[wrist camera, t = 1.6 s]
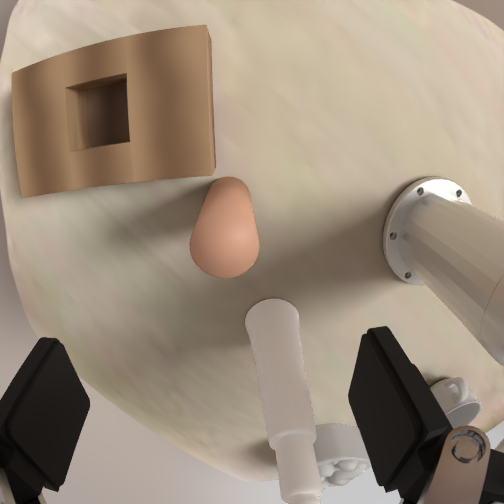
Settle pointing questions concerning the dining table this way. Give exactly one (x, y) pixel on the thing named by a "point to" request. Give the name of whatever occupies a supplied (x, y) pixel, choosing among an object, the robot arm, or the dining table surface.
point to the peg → (225, 230)
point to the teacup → (456, 401)
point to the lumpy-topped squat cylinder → (339, 454)
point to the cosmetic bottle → (285, 398)
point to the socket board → (116, 113)
